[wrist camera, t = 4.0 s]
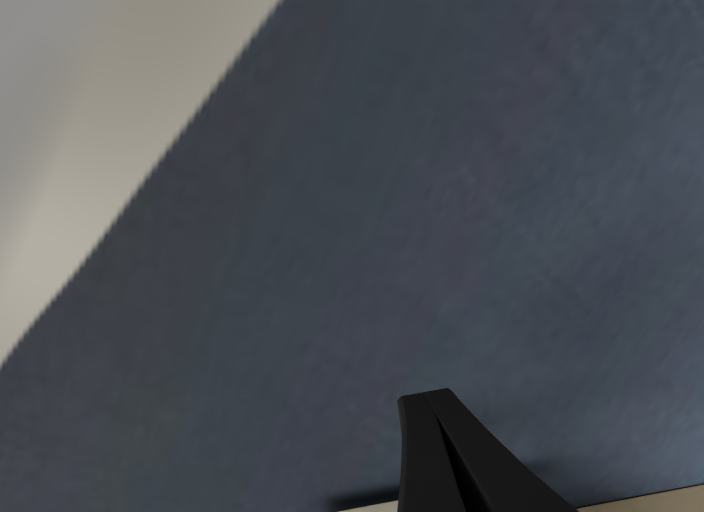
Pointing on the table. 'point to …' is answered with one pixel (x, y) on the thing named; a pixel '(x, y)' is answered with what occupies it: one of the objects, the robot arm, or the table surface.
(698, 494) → the control block
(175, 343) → the table surface
